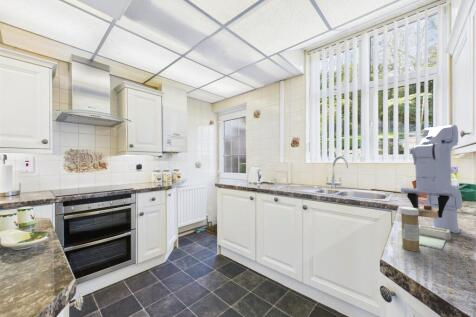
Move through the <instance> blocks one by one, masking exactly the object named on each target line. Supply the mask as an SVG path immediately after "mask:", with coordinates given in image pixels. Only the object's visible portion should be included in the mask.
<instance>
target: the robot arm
mask: <svg viewBox="0 0 476 317" xmlns="http://www.w3.org/2000/svg"><path fill="white" fill-rule="evenodd" d="M422 134H423V138H422V139H421V141H420V142H419V144H416V145H415V146H413V147H412V149H411V155H412V156H411V157H412V160H413V165H414V166H415V186H416V187H415V188H412V187H411V188H408V187H402V188H400V193H401V194H407V195H406V197H407V198H408V200H409V201H410V203H411V206H412V208H416V209H417V208H419V207H420V206H419V196H420V195H422V196H426V201H427V205H429V206H431V207H433V208H439V212H438V216H439V217H438V218H432V222H433V223H432V225H431V227H436V228H442V229H448V230H450V233H454V234H455V233H456V234H459V233H460V231H461V227H459V222H458V210H459V209H461V208H462V207H463V206H462V205H463V197H462V192H461V190H460V189H459V188H457V187H455V186H453V185H452V161H451V160H452V159H451V156H452V154H451V153H452V149H453V148H454V147H455V146H457V145H458V143H459V128H458V125H456V124H451V125H450V124H449V125H441V126H436V127H435V126H434V127H425V128H424V129H423V133H422Z"/></svg>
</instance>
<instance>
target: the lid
mask: <svg viewBox="0 0 476 317" xmlns="http://www.w3.org/2000/svg"><path fill="white" fill-rule="evenodd" d="M418 207H419V208H417V209H418V211H419V215H418V217H423V218H430V219H431V218H432V219H433V218H438V217H439V216H438V212H439V208H433V207H431V206H430V205H429V204H424V205H423V206H418Z"/></svg>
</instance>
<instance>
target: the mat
mask: <svg viewBox="0 0 476 317" xmlns="http://www.w3.org/2000/svg"><path fill="white" fill-rule="evenodd" d="M446 242H447V241H446V240H442V239H437V238H432V237H427V236H422V235H419V246H424V247H427V248H433V249H436V250H441V251H442V250H443V248H444V247H445V246H444V245H445V244H446Z"/></svg>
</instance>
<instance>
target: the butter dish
mask: <svg viewBox="0 0 476 317" xmlns="http://www.w3.org/2000/svg"><path fill="white" fill-rule="evenodd" d="M419 235H422V236H427V237H432V238H437V239H442V240H446V242H450V240H451V232H450V230H448V229H442V228H436V227H432V226H428V225H424V224H419Z"/></svg>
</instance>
